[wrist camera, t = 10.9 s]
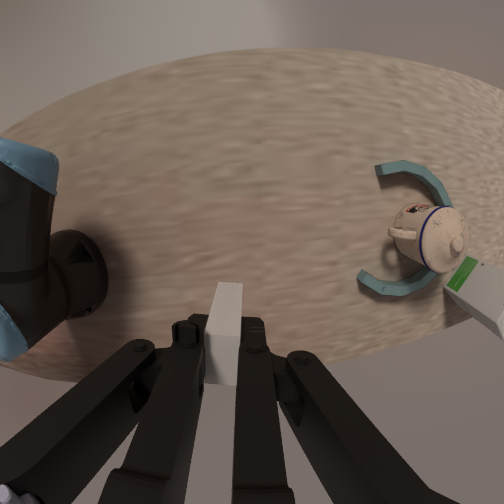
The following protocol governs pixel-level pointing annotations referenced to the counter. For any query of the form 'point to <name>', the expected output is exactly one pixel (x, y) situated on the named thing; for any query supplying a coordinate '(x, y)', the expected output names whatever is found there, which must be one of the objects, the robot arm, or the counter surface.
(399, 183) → the counter surface
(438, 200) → the open curved ring
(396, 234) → the teacup with lid
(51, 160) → the robot arm
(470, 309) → the skincare box
